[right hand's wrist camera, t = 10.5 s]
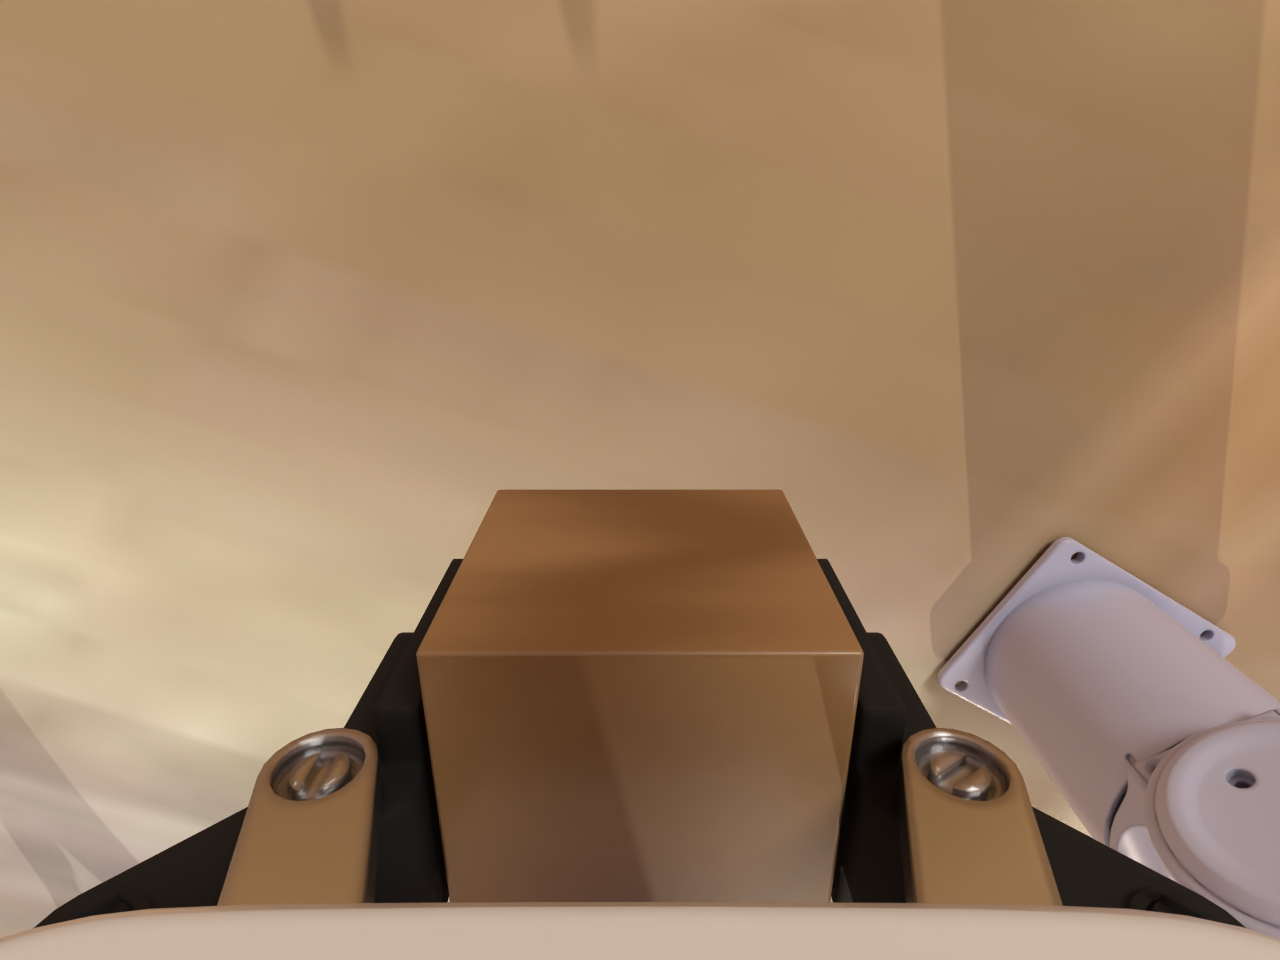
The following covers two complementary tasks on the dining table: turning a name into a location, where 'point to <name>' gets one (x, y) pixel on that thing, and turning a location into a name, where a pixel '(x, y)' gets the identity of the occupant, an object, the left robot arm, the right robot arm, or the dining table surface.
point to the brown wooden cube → (640, 702)
